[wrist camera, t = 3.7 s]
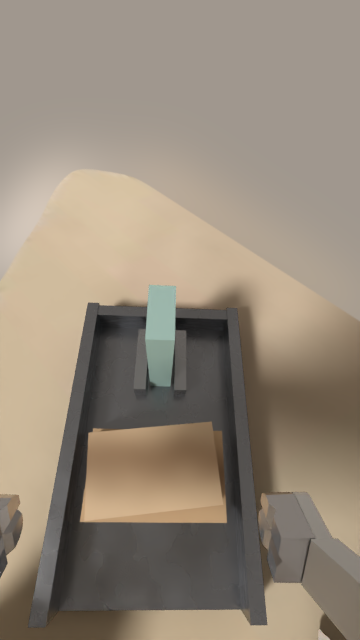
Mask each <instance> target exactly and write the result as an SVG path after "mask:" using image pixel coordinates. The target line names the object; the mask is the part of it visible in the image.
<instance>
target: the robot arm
mask: <svg viewBox="0 0 360 640" xmlns="http://www.w3.org/2000/svg"><path fill="white" fill-rule="evenodd" d="M260 502H261V505H262V509H261V510H260V511H259V517H258V523H259V532H260V537H261V541H262V544H263V545H264V546H265V548H266V549H267V550H268V555H267V561H268V564H269V568H270V571H271V574H272V578H273V581H274V583H302V584H301V585H302V586H303V587H304V588H305V590H306V591H307V592H308V593H309V594H310V596H311V597H312V598H313V599H314V601H315V602H316V603H317V604H318V605H319V607H320V608H321V609H322V610H323V611H324V613H325V614H326V615H327V616H328V618H329V619H330V620H331V621H332V622H333V624H334V625H335V626H336V627H337V629H338V630H339V631H340V632H341V633H342V635H343V636H344V637H345V638H346V639H347V640H360V557H359V556H358V555H357V554H356V553H354V552H353V551H352V550H351V549H349V548H348V547H347V546H346V545H345V544H343V543H342V542H341V541H340V540H339V539H333V538H332V536H331V534H330V532H329V530H328V529H327V527H326V525H325V523H324V521H323V519H322V517H321V515H320V514H319V512H318V510H317V508H316V506H315V504H314V502H313V501H312V499H311V497H310V495H309V494H308V493H307V492H266V493H262V495H261V501H260ZM19 505H20V500H19V495H8V494H0V577H1V575H2V573H3V571H4V569H5V567H6V565H7V558H6V555H7V554H9V553H10V552H11V551H12V550H13V549H14V548H15V547H16V545H17V542H18V540H19V538H20V534H21V531H22V525H23V517H22V513H21V512H20V511H19V510H17V508H18V506H19Z"/></svg>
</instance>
